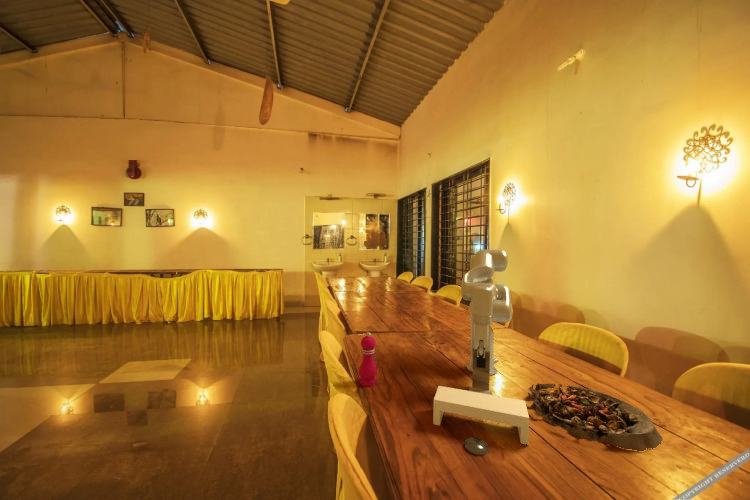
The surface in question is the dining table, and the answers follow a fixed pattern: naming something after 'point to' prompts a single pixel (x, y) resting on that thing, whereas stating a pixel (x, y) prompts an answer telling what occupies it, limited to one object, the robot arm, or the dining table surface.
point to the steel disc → (476, 446)
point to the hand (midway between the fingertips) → (481, 362)
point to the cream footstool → (482, 408)
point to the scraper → (481, 375)
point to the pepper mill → (368, 361)
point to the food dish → (595, 416)
